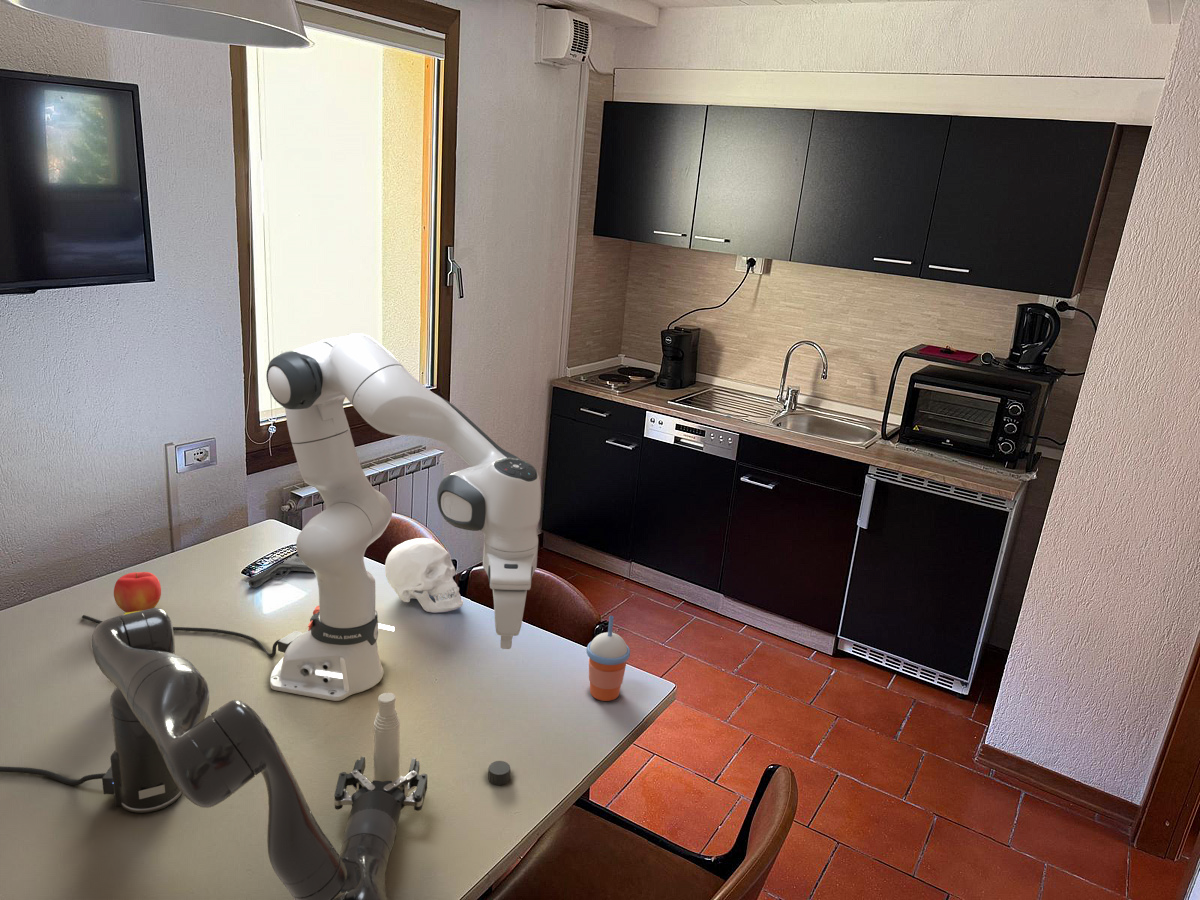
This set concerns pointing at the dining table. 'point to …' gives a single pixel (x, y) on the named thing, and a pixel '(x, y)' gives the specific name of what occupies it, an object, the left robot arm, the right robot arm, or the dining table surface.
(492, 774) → the cap
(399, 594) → the skull
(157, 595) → the apple
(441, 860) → the dining table surface
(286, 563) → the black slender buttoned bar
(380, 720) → the bottle
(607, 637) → the cup with straw
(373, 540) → the right robot arm
